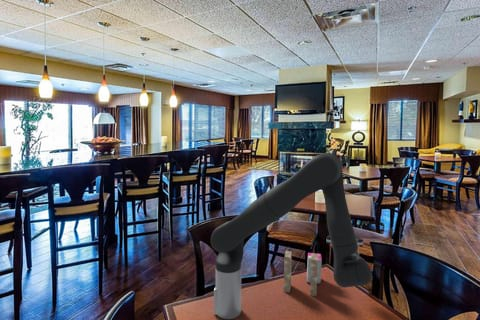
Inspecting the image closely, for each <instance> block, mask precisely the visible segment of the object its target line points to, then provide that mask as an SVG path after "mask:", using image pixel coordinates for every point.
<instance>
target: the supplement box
mask: <svg viewBox="0 0 480 320" xmlns="http://www.w3.org/2000/svg"><path fill="white" fill-rule="evenodd" d="M312 253H313V254H316V253H314V252H308V253H307V265H306V284H310V285H311V255H312ZM317 254H318V264H317V285H321V279H322V278H321V277H322V263H323V262H322V260H323V259H322V254H321V253H317Z"/></svg>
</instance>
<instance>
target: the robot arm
mask: <svg viewBox="0 0 480 320" xmlns="http://www.w3.org/2000/svg"><path fill="white" fill-rule="evenodd" d="M344 186H345V185H344V175H343V164H342V161H341V160H340V158H339V157H338V156H337V155H335V154H334V153H330V152H323V153H320V154H317V155H315V156H313V157H311V159H310V160H308V161H307V162H306V163H305V164H304V165H303V166H302V167H301V168H300V169H299V170H298V171H297V172H295V174H293V175H291V177H289V178H288V179H285V180H284V181H282V182H281V183H279V184H277V185H275V186H274V187H272V188H270V189H269V190H267V191H266V192H264V193H263V194H261V195H260V196H259V197H258V198H256V199H255V200H254V201H252V203H250V204H249V205H247V207H246V208H244V209H243V210H242V211H241V212H240V213H239V214H238V215H237V216H236V217H234V218H233V219H231V220H229V221H225V222H224V223H222V224H221V225H219V226H218V227H216V228H215V229H214V230H213V231H212V232H211V236H210V245H211V247H212V248H213V250H214V251H216V252H217V253H218V254H217V257H216V258H215V261H214V262H215V263H214V264H215V267H214V268H215V287H214V289H213V315H215V316H217V317H218V318H220V319H224V320H232V319H236V318H237V317H239V316H240V315H241V313H242V261H243V259H244V249H245V245H244V244H245V239H246V238H248V237H249V236H251V235H253V234H255V233H257V232H259V231H261V230H263V229H265V228H266V227H268V226H270V225H272V224H273V223H275V222H277V221H278V220H280V219H281V218H283V217H284V216H286V215H287V214H288V213H289V212H291V211H292V210H293V209H294V208H295V207H296V206H297V205H299V203H300V202H302V201H303V200H304V199H305V198H307V197H309V196H311V195H313V194H314V193H317V192H319V191H320V190H321V191H322V195H323V198H324V203H325V204H324V205H325V209H326V210H325V213H326V214H325V215H326V222H327V224H326V225H327V229H328V235H327V236H326V243H325V244H328V245H330V244H331V246H332V247H331V248H332V251H333V271H332V272H333V279H334V282H335V283H336V284H337V286H339V287H341V288H352V287H359V286H367V285H368V284H370V282H372V279H373V272H372V269H371V267H370V265H369V263H368V262H367V261H366V260H365V259H364V258H363V257H361V256H360V251H359V247H360V248H363V247H364V239H363V238H360V237H359V236H357V235H356V234H355V230H354V226H353V223H352V219H351V215H350V211H349V209H348V208H349V207H348V203H347V199H346V193H345V187H344Z"/></svg>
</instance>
